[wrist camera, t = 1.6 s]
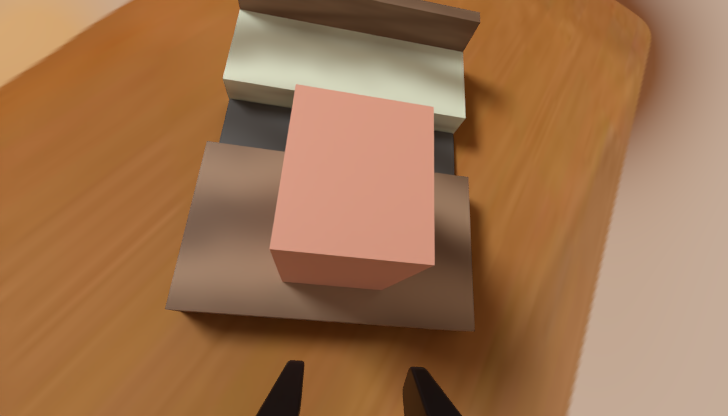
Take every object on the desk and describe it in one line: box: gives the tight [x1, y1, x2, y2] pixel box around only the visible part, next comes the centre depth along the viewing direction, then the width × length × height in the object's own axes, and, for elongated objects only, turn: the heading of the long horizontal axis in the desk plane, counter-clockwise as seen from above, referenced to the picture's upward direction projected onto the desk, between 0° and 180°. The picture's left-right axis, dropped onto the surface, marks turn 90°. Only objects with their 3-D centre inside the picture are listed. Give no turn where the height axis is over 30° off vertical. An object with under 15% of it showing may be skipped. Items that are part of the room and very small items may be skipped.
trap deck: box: [165, 0, 480, 331], centre depth 24 cm, size 23×18×6 cm
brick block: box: [269, 84, 435, 290], centre depth 18 cm, size 7×6×9 cm
